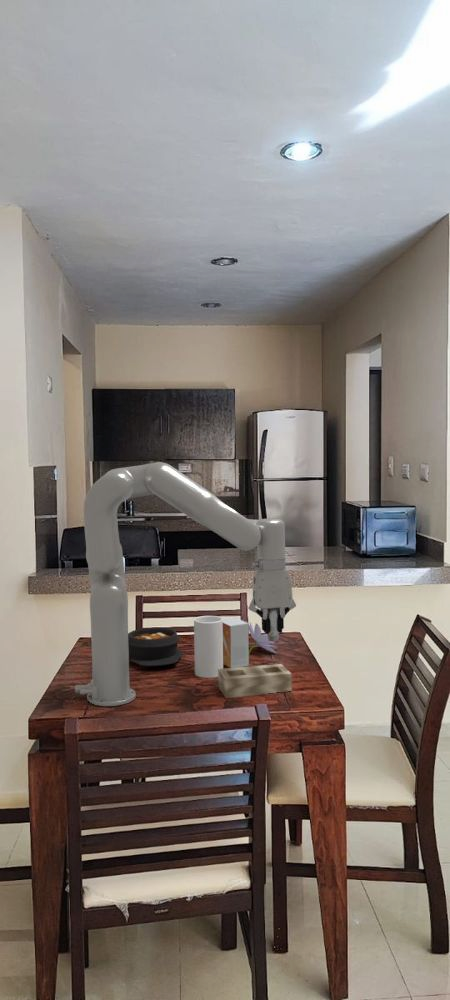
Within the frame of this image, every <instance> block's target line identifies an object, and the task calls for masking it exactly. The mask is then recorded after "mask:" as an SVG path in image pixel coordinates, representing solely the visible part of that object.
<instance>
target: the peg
mask: <svg viewBox="0 0 450 1000" xmlns="http://www.w3.org/2000/svg"><path fill="white" fill-rule="evenodd" d="M267 617H268V619H269V634H267V636H268V640H269V641H274V642H277V641H279V639H280V637H279V636H280V635H279V634H280V633H279V630H278V608H270V609H268V612H267Z"/></svg>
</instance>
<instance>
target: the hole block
mask: <svg viewBox="0 0 450 1000" xmlns="http://www.w3.org/2000/svg"><path fill="white" fill-rule="evenodd" d="M217 678H218V679H217V680H218V681H217V682H218V683H217V684H218V685H217V686H218V689H219V691H220V692H221V693H222V695H223V696H224V698H225V699H229V698H241V697H251V696H252V697H253V696H261V695H262V694H265V695H269V694H268V693H275V694H277V693H276V692H285V691H292V690H293V689H292V687H293V686H292V673H291V672H290V670H289V669H287V668H286V667H285V665H283V663H277V664H276V663H275V664H264V665H252V666H244V667H238V668H229V667H227V668H223V669H218V677H217ZM292 692H293V691H292ZM262 696H263V695H262Z"/></svg>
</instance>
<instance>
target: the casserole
mask: <svg viewBox="0 0 450 1000" xmlns="http://www.w3.org/2000/svg"><path fill="white" fill-rule="evenodd" d="M177 633H178V632H176V630H174V629H172V628H166V627H144V628H139V629H135V630H132V631H129V632H128V647H129V662H132V663H134V664H137V665H139V666H142V667H161V666H167V665H174V664H176V663H177V662H179V660H180V658H181V656H183V654H184V652H183V650H182V649H181V648H179V647H178V644H179V642H180V640H181V638H180V637H179V636H178V634H177Z"/></svg>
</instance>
